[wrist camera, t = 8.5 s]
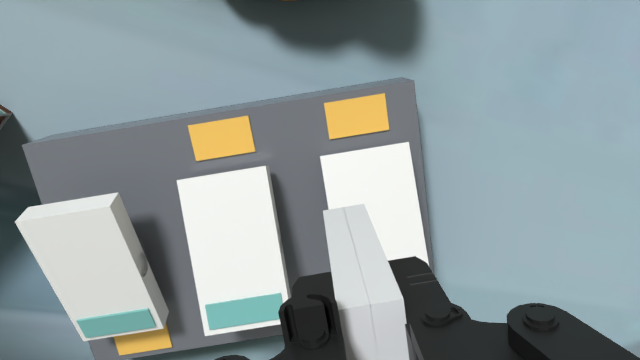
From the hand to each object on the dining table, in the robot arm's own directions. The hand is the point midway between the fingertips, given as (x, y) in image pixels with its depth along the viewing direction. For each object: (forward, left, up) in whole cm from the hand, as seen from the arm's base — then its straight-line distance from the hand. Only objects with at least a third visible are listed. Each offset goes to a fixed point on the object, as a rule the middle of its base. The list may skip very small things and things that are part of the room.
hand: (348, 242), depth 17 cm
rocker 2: (+5, -7, -12) cm, 14 cm away
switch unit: (+5, -7, -19) cm, 20 cm away
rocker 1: (+5, -16, -12) cm, 20 cm away
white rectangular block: (+5, +2, -12) cm, 13 cm away
